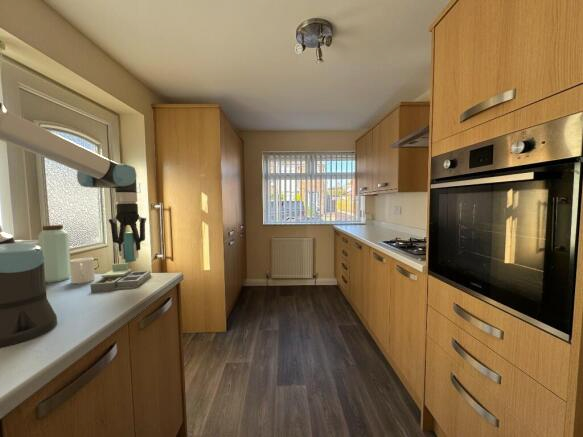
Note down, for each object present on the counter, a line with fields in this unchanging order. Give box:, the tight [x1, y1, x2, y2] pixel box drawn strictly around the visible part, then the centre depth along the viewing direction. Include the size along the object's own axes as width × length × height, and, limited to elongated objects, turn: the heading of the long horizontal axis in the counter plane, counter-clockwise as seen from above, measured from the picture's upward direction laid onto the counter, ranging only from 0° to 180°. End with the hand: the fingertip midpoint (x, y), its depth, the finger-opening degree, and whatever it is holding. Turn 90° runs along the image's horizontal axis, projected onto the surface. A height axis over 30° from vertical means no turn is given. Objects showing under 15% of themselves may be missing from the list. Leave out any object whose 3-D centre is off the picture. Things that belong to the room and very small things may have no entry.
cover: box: [101, 262, 132, 278], centre depth 111 cm, size 9×8×4 cm
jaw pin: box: [123, 231, 137, 263], centre depth 106 cm, size 4×4×12 cm
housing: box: [90, 270, 152, 293], centre depth 109 cm, size 18×16×3 cm
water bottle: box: [37, 224, 71, 284], centre depth 115 cm, size 10×10×25 cm
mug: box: [70, 256, 96, 284], centre depth 111 cm, size 8×12×10 cm
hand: (130, 258), depth 106 cm, fingers closed on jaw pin, 4 cm apart
